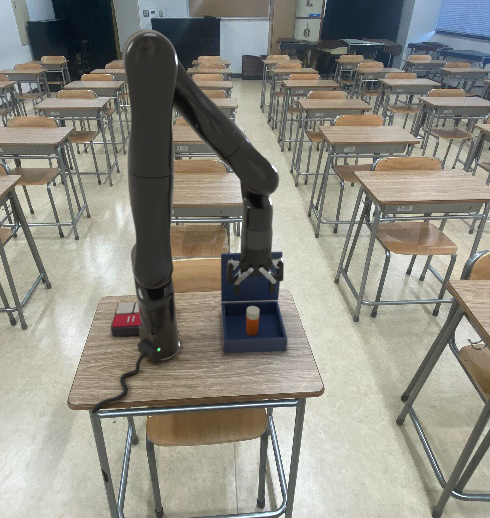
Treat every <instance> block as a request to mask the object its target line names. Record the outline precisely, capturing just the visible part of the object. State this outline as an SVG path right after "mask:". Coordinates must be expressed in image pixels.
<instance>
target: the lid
mask: <svg viewBox="0 0 490 518" xmlns="http://www.w3.org/2000/svg"><path fill="white" fill-rule="evenodd" d="M283 255H284V254H283V251H271V259H272V260H273V259H277V258H278V257H282V258H283ZM240 257H241V252H221V253H220V302H221V303H222V302H252V301H279V297H280V286H281V281H277V282H276V284H275V292H272V294H269V279H267V278H266V277H265V276H264V275H262V276H260V277H258V276H254V277H249V276H247V277H246V278H245V279H244V280H242V281H241V282H240V296H237V294H235V293H234V284H233V283H228V282H227V266H228V259H232V260H233V261H239V260H240ZM239 269H240V267H239V266H237V267H236V269H235V270H233V276H235V275H236V274H237V273H238V271H239ZM270 270H271V272H272V273H273V274H274V275H276V274H277V268H276V267H275V265H272V267H271V268H270Z"/></svg>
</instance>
